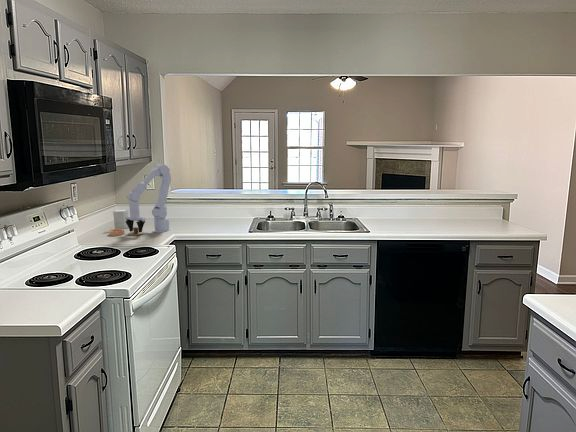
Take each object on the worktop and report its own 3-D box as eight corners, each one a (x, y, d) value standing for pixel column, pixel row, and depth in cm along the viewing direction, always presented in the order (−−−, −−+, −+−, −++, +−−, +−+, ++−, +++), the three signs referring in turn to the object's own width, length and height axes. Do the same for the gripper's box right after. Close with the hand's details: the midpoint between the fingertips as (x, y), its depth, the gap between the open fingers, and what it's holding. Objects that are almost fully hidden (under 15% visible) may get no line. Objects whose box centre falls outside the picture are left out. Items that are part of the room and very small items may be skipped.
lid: (135, 232, 290) (135, 225, 289) (147, 233, 286) (146, 226, 285) (124, 235, 281) (124, 228, 280) (136, 236, 277) (136, 229, 276)
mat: (136, 232, 292) (136, 231, 291) (149, 233, 287) (149, 233, 287) (124, 235, 282) (124, 235, 282) (137, 237, 277) (137, 236, 277)
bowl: (116, 233, 290) (116, 228, 290) (127, 234, 287) (127, 229, 286) (106, 235, 282) (105, 231, 282) (117, 236, 279) (117, 232, 278)
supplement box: (129, 227, 309) (128, 209, 307) (124, 229, 302) (123, 211, 300) (119, 227, 310) (118, 209, 308) (114, 229, 303) (112, 211, 301)
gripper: (120, 210, 280) (122, 232, 282) (139, 212, 274) (140, 233, 277) (129, 209, 287) (130, 230, 289) (146, 210, 281) (148, 231, 283)
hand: (135, 231), depth 283 cm, fingers open, 7 cm apart
